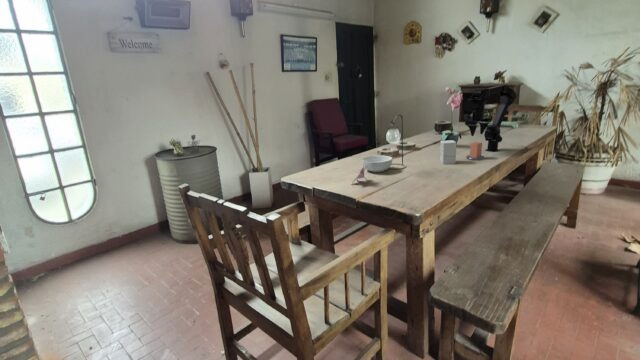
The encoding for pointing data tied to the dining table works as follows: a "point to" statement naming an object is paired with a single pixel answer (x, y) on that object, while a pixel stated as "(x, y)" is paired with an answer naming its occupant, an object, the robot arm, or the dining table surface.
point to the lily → (361, 174)
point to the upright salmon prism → (475, 149)
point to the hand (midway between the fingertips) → (476, 135)
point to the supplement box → (448, 152)
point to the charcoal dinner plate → (475, 158)
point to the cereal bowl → (377, 163)
